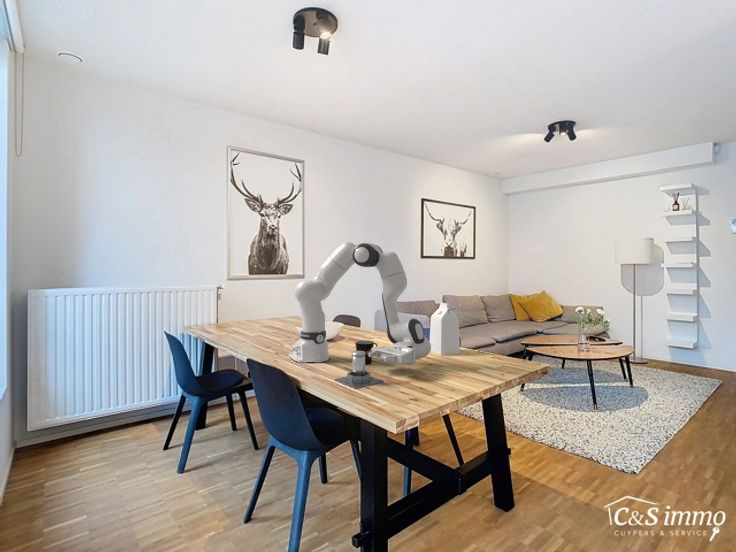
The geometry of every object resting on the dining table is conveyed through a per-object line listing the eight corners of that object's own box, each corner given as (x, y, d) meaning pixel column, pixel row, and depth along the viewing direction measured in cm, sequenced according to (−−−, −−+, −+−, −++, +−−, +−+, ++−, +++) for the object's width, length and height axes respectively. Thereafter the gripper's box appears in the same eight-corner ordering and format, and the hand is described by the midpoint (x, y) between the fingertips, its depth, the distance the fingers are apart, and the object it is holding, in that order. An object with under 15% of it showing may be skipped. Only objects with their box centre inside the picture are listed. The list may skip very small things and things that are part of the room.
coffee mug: (357, 366, 177) (357, 344, 177) (353, 361, 186) (353, 340, 185) (382, 364, 180) (382, 343, 180) (376, 360, 189) (376, 339, 189)
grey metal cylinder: (349, 379, 155) (349, 352, 154) (359, 376, 158) (359, 350, 158) (357, 382, 150) (357, 354, 150) (368, 379, 154) (368, 352, 154)
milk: (460, 353, 203) (460, 303, 202) (441, 355, 198) (441, 304, 198) (447, 349, 214) (447, 301, 213) (429, 350, 210) (429, 302, 209)
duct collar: (334, 380, 155) (334, 372, 155) (361, 374, 164) (361, 367, 164) (355, 388, 144) (355, 380, 144) (383, 381, 153) (383, 374, 153)
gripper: (385, 341, 177) (361, 345, 168) (418, 348, 161) (393, 353, 152) (385, 355, 177) (361, 360, 168) (418, 363, 161) (393, 369, 152)
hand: (377, 357), depth 160 cm, fingers open, 8 cm apart
